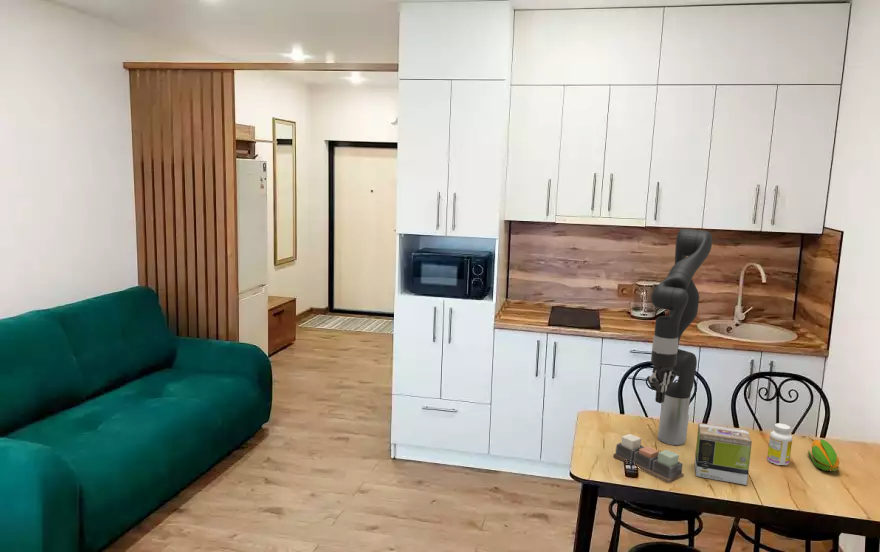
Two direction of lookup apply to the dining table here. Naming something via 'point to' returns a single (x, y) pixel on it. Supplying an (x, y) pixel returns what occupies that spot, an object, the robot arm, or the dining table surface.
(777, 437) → the supplement bottle
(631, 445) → the button ivory
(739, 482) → the tea box
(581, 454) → the dining table surface
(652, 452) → the button terracotta
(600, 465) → the dining table surface
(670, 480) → the grey button tray
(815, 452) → the corn
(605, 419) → the dining table surface
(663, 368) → the robot arm
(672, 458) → the button sage
